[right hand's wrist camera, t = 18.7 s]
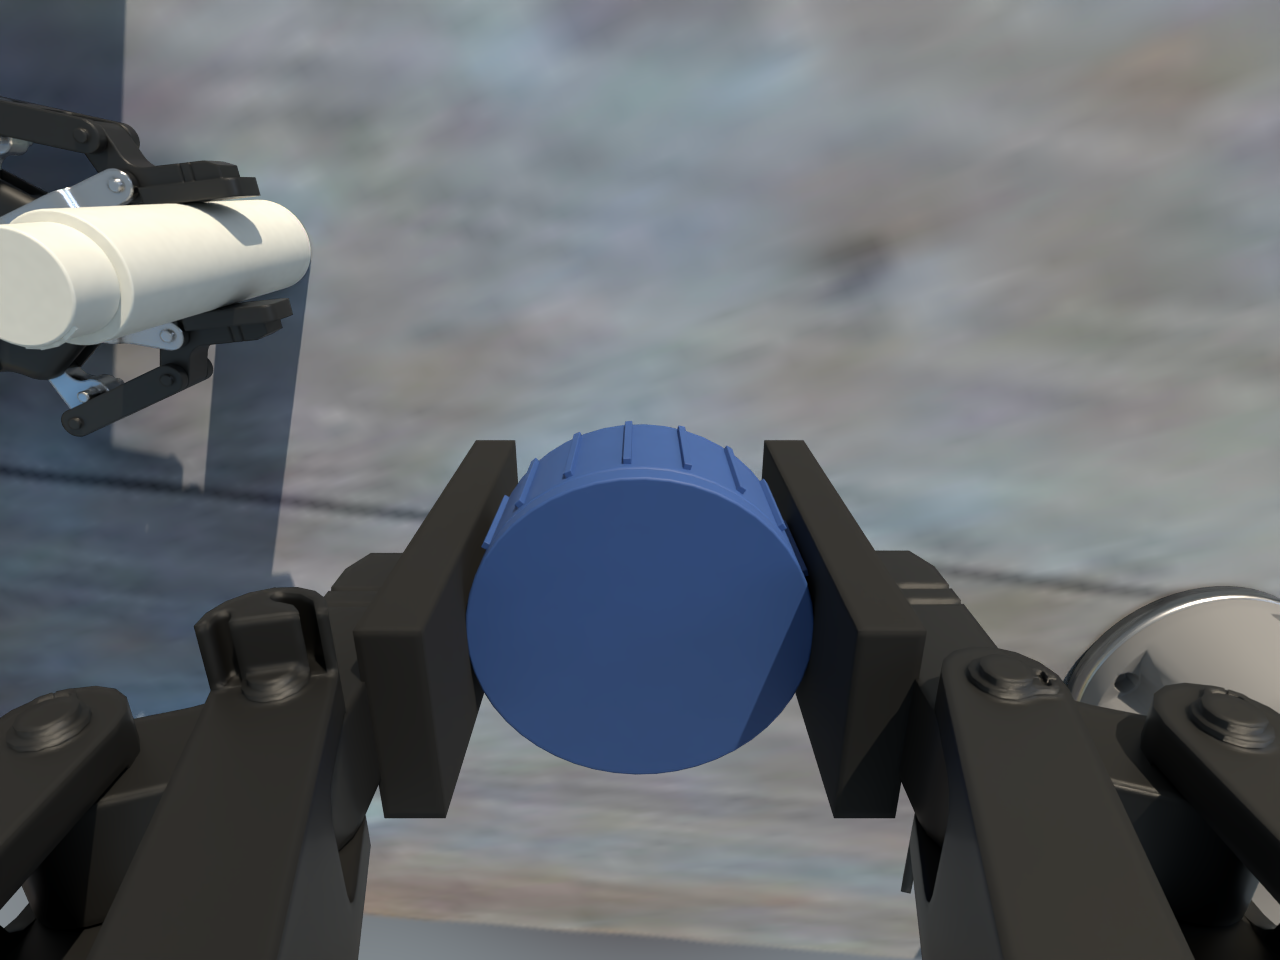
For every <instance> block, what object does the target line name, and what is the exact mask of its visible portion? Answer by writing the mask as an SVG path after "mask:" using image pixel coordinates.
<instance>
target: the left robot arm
mask: <svg viewBox="0 0 1280 960" xmlns="http://www.w3.org/2000/svg"><path fill="white" fill-rule="evenodd" d="M33 143H38V144H43V145H47V146H52V147H57V148H61V149H66V150H71V151H75V152H80V153H85V155H86V156H87V158H88V159H89V160H90V162H91V163H92V165H93V166H94V167H95V169H96V170H97V172H98V174H96V175H94V176H92V177H90V178H88V179H86V180H84V181H82V182H80V183H78V184H76V185H74V186H71V187H68V188H64V189H59V190H56V191H53V192H50V193H47V192H45V191H43V190H41V189H40V188H38V187H36V186H34V185H32V184H30V183H28V182H26V181H24V180H23V179H21V178H19V177H17V176H15V175H13V174H11V173H9V172H7V171H6V170H4V169H2V162H3V160H4V159H5V158H6V157H8V156H10V155H22V154H24V153H25V152H26V151H27V150H28V147H29V146H32V144H33ZM139 146H140V141H139V137H138V135H137V133H136V131H135V130H134V129H133V128H132V127H130V126H129V125H127V124H124V123H120V122H115V121H111V120H106V119H102V118H97V117H93V116H88V115H83V114H79V113H74V112H70V111H65V110H61V109H56V108H52V107H47V106H42V105H38V104H33V103H29V102H24V101H20V100H15V99H10V98H6V97H1V96H0V225H1V224H10V222H11V221H13V220H14V219H15V218H17V217H18V216H20V215H22V214H24V213H26V212H29V211H33V210H39V209H54V208H77V207H101V206H125V205H149V204H176V203H200V202H210V201H219V200H228V199H237V198H246V197H255V196H260V192H259V189H258V185H257V181H256V178H255V177H240V175H239V171H238V168H237V166H236V165H233V164H230V163H226V162H221V161H196V162H187V163H179V164H170V165H161V166H154V165H153V164H151V163H150V162H149V161H148V160H147V159H146V158H145V157H144V156H143V154H142V153H141V151H140V150H139ZM291 315H293V313H292V309H291V305H290V302H289V298H281V299H271V300H262V301H252V302H243V303H234V304H231V305H227V306H224V307H221V308H217V309H214V310H210V311H207V312H204V313H200V314H197V315H194V316H190V317H187V318H184V319H180V320H177V321H173V322H170V323H167V324H163V325H160V326H157V327H153V328H150V329H147V330H143V331H140V332H136V333H133V334H130V335H126V336H123V337H120V338H116V339H113V340H109V341H106V342H103V343H109V344H121V343H130V344H136V345H142V346H147V347H153V348H159V349H160V367H157V368H155V369H153V370H151V371H149V372H147V373H145V374H143V375H141V376H139V377H137V378H134V379H132V380H130V381H128V382H126V383H124V381H123V380H122V379H120V378H115V377H113V376H111V375H108V374H102V375H99V376H93V375H90V374H87V373H86V372H84V371H83V370H82V369H81V368H80V367H81V366H82V365H83V364H84V363H85V362H86V360H87V359H88V358H89V357H90V356H91V354H92V353H93V352H94V351H95V350H96V349H97V347H98V346H99V345H100V344H101V343H99V344H94V345H77V344H70V343H66V342H65V343H64V344H62V345H60V346H58V347H54V348H49V349H45V350H41V349H26V347H22V346H18V345H15V344H11V343H9V342H6V341H3V340H1V339H0V372H16V373H20V374H23V375H26V376H28V377H31V378H34V379H39V380H48V381H49V382H50V383H51V385H52V386H53V387H54V388H55V390H56V391H57V392H58V394H59V395H60V396H61V398H62V399H63V400H64V402H65V403H66V404H67V406H68V407H69V408H70V410H67V411H66V412H64V413H63V415H62V417H61V422H62V425H63V427H64V428H65V430H66V431H67V432H69V433H70V434H72V435H74V436H78V437H82V436H85V435H88V434H90V433H92V432H94V431H96V430H98V429H101V428H103V427H105V426H107V425H109V424H112V423H114V422H116V421H118V420H120V419H123V418H125V417H127V416H129V415H131V414H133V413H135V412H137V411H140V410H142V409H144V408H146V407H148V406H150V405H152V404H155V403H157V402H159V401H161V400H163V399H165V398H167V397H169V396H172V395H174V394H176V393H178V392H180V391H182V390H184V389H186V388H189V387H191V386H193V385H195V384H197V383H199V382H201V381H204V380H206V379H208V378H209V377H210V376H211V375H212V373H213V366H212V363H211V361H210V360H209V359H208V358H207V355H208V348H209V346H210V345H212V344H222V343H231V342H241V341H251V340H258V339H260V338H263V337H265V336H268V335H270V334H273V333H274V332H276V331H278V330H279V329H281V328H283V327H282V324H281V320H280V319H283V318H285V317H288V316H291Z"/></svg>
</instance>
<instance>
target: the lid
mask: <svg viewBox="0 0 1280 960" xmlns="http://www.w3.org/2000/svg"><path fill="white" fill-rule="evenodd" d="M481 547H482V548H484V549H486V551H485V553H484V556H483V558H482V560H481V563H480V565H479V567H478V570H477V572H476V574H475V577H474V580H473V583H472V586H471V589H470V592H469V596H468V602H467V609H466V631H467V641H468V650H469V657H470V660H471V663H472V667H473V670H474V673H475V675H476V677H477V679H478V681H479V684H480V686H481V688H482V690H483V691H484V693H485V695H486V696H487V698H488V699H489V701H490V702H491V704H492V705H493V707H494V708H495V709H496V710H497V711H498V712H499V714H500V715H501V716H502V717H503V718H504V719H505V721H506V722H508V723H509V724H510V725H511V726H512V727H513V728H514V729H515V730H516V731H518V732H519V733H520V734H521V735H522V736H524V737H525V738H527V739H528V740H529V741H531V742H532V743H534V744H535V745H536V746H538V747H540V748H542V749H544V750H545V751H547V752H549V753H551V754H553V755H555V756H557V757H559V758H562V759H564V760H567V761H569V762H572V763H574V764H578V765H581V766H585V767H588V768H591V769H596V770H601V771H607V772H612V773H623V774H658V773H666V772H673V771H679V770H683V769H687V768H691V767H696V766H699V765H702V764H704V763H707V762H710V761H713V760H716V759H718V758H720V757H722V756H724V755H726V754H728V753H730V752H732V751H735V750H736V749H738V748H739V747H741V746H742V745H744V744H746V743H747V742H749V741H750V740H752V739H753V738H754V737H756V736H757V735H758V734H759V733H761V732H762V731H763V730H764V729H765V728H767V727H768V726H769V725H770V724H771V723H772V722H773V721H774V720H775V718H776V717H777V716H778V715H779V714H780V713H781V712H782V711H783V709H784V708H785V707H786V705H787V704H788V703H789V701H790V700H791V699H792V697H793V695H794V694H795V692H796V690H797V688H798V686H799V684H800V683H801V681H802V678H803V676H804V673H805V670H806V668H807V665H808V662H809V659H810V653H811V645H812V635H813V625H814V615H813V604H812V600H811V596H810V592H809V588H808V584H807V581H806V579H805V577H806V576H809V574H808V570H807V568H806V566H805V563H804V561H803V559H802V557H801V554H800V552H799V550H798V548H797V545H796V543H795V541H794V538H793V536H792V534H791V532H790V529H789V527H788V525H787V523H786V520H783V519H782V516H781V514H780V512H779V509H778V507H777V505H776V502H775V500H774V498H773V495H772V493H771V491H770V489H769V486H768V484H767V482H766V481H765V480H764V479H762V480H761V481H759V480H758V478H757V477H756V476H755V475H754V474H753V472H752V471H751V470H750V469H749V468H748V467H747V466H746V465H744V464H743V463H742V462H741V461H740V460H739V459H738V458H737V457H735V456H734V453H733V450H732V449H731V448H730V447H728V446H726V447H725V448H722V447H721V446H719V445H717V444H715V443H713V442H711V441H709V440H707V439H705V438H703V437H701V436H698V435H695V434H692V433H690V432H687V431H686V430H685V427H683V426H678V429H675V428H670V427H666V426H656V425H645V424H642V425H632V421H626V422H625V425H621V426H615V427H609V428H603V429H600V430H597V431H593V432H590V433H586V434H583V435H581V433H580V432H578V433H576V434H574V436H573V439H572V440H570V441H568V442H566V443H564V444H562V445H561V446H559V447H557V448H556V449H554V450H552V451H551V452H549V453H548V454H547V455H546V456H544V457H543V458H542V459H541V460H538V459H537V458H535V459H534V460H533V461H532V462H531V464H530V466H529V469H528V471H527V473H526V474H525V475H524V476H523V477H522V479H521V480H520V481H519V483H518V484H517V486H516V487H515V489H514V490H513V491H512V493H511V495H510V497H508V496H506V495H504V497H503V499H502V501H501V503H500V506H499V508H498V510H497V513H496V515H495V517H494V519H493V522H492V524H491V526H490V528H489V531H488V533H487V535H486V537H485V540H484V542H483V544H482V546H481Z"/></svg>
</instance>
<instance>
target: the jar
mask: <svg viewBox="0 0 1280 960" xmlns="http://www.w3.org/2000/svg"><path fill="white" fill-rule="evenodd" d="M310 258H311V248H310V242H309V238H308V236H307V233H306V231H305V229H304V227H303V226H302V224H301V223H300V221H299V220H298V219H297V218H296V217H295V216H294V215H293V214H292V213H291V212H290V211H289V210H287V209H286V208H284V207H282V206H281V205H279V204H276V203H274V202H270V201H266V200H244V201H220V202H200V203H176V204H149V205H125V206H101V207H77V208H54V209H39V210H33V211H29V212H26V213H24V214H22V215H20V216H18V217H17V218H15V219H14V220H13V221H11V222H10V224H1V225H0V339H1V340H3V341H6V342H9V343H11V344H15V345H18V346H22V347H26V349H41V350H45V349H49V348H54V347H58V346H60V345H62V344H64V343H65V342H66V343H70V344H77V345H94V344H99V343H103V342H106V341H109V340H113V339H116V338H120V337H123V336H126V335H130V334H133V333H136V332H140V331H143V330H147V329H150V328H153V327H157V326H160V325H163V324H167V323H170V322H173V321H177V320H180V319H184V318H187V317H190V316H194V315H197V314H200V313H204V312H207V311H210V310H214V309H217V308H221V307H224V306H227V305H231V304H234V303H237V302H241V301H244V300H248V299H251V298H254V297H258V296H261V295H264V294H268V293H271V292H274V291H278V290H281V289H285V288H288V287H290V286H292V285H294V284H296V283H297V282H298V281H300V280H301V279H302V277H303V276H304V275H305V273H306V271H307V269H308V267H309V264H310Z"/></svg>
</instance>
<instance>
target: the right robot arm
mask: <svg viewBox="0 0 1280 960" xmlns="http://www.w3.org/2000/svg"><path fill="white" fill-rule="evenodd" d="M762 479H764V480H765V481H766V482H767V484H768V486H769V489H770V491H771V493H772V495H773V498H774V500H775V502H776V505H777V507H778V509H779V512H780V514H781V516H782V519H783V520H786V523H787V525H788V527H789V529H790V532H791V534H792V536H793V538H794V541H795V543H796V545H797V548H798V550H799V552H800V554H801V557H802V559H803V561H804V563H805V566H806V568H807V570H808V574H809V576H806V577H805V579H806V581H807V584H808V588H809V592H810V596H811V600H812V604H813V615H814V625H813V635H812V645H811V653H810V659H809V662H808V665H807V668H806V670H805V673H804V676H803V678H802V681H801V683H800V684H799V686H798V688H797V690H796V692H795V693H796V696H797V699H798V703H799V706H800V709H801V712H802V716H803V719H804V722H805V725H806V729H807V732H808V735H809V738H810V742H811V745H812V748H813V751H814V755H815V758H816V761H817V764H818V768H819V771H820V774H821V777H822V781H823V784H824V787H825V790H826V794H827V797H828V800H829V803H830V807H831V810H832V813H833V816H834V818H895V816H896V810H897V804H898V798H899V792H900V786H901V782H902V784H903V787H904V789H905V791H906V793H907V796H908V798H909V800H910V802H911V805H912V807H913V809H914V812H915V815H914V820H913V826H912V831H911V837H910V842H909V848H908V853H907V858H906V864H905V869H904V875H903V881H902V887H901V892H906V893H911V889H912V884H913V881H914V890H915V899H916V908H917V917H918V926H919V935H920V944H921V953H922V960H1280V599H1279V598H1277V597H1275V596H1273V595H1270V594H1267V593H1265V592H1262V591H1258V590H1254V589H1249V588H1243V587H1232V586H1215V587H1205V588H1198V589H1193V590H1188V591H1184V592H1180V593H1176V594H1173V595H1170V596H1167V597H1164V598H1162V599H1159V600H1157V601H1154V602H1152V603H1150V604H1148V605H1146V606H1144V607H1142V608H1140V609H1138V610H1136V611H1135V612H1133V613H1131V614H1130V615H1128V616H1126V617H1125V618H1123V619H1122V620H1121V621H1119V622H1118V623H1116V624H1115V625H1114V626H1113V627H1111V628H1110V629H1109V630H1108V631H1106V632H1105V633H1104V634H1103V635H1102V636H1101V637H1100V638H1099V639H1098V640H1097V641H1096V642H1095V643H1094V644H1093V645H1092V646H1091V647H1090V649H1089V650H1088V651H1087V652H1086V654H1085V655H1084V656H1083V658H1082V659H1081V660H1080V662H1079V663H1078V665H1077V667H1076V668H1075V670H1074V672H1073V674H1072V676H1071V678H1070V680H1069V683H1068V685H1067V686H1066V685H1065V683H1064V682H1063V681H1062V680H1061V678H1060V677H1059V676H1058V675H1057V674H1056V673H1054V672H1053V671H1051V670H1050V669H1048V668H1047V667H1045V666H1044V665H1043V664H1041V663H1040V662H1038V661H1035V660H1033V659H1031V658H1028V657H1026V656H1023V655H1021V654H1019V653H1016V652H1012V651H1008V650H1003V649H999V648H997V646H996V645H995V644H994V642H993V641H992V640H991V639H990V637H989V636H988V635H987V633H986V632H985V631H984V630H983V628H982V627H981V626H980V624H979V623H978V622H977V621H976V619H975V618H974V617H973V615H972V614H971V613H970V612H969V610H968V609H967V608H966V606H965V605H964V604H961V600H960V599H959V597H958V596H957V595H956V594H955V592H954V591H953V590H952V589H949V585H948V583H947V582H946V581H945V579H944V578H943V577H942V576H941V574H940V573H939V572H938V570H937V569H936V568H935V567H934V566H933V565H931V564H930V563H928V562H926V561H925V560H923V559H922V558H920V557H918V556H917V555H915V554H913V553H912V552H910V551H875V550H874V548H873V547H872V545H871V544H870V542H869V541H868V539H867V538H866V536H865V535H864V533H863V531H862V530H861V528H860V527H859V525H858V524H857V522H856V521H855V519H854V518H853V516H852V514H851V513H850V511H849V510H848V508H847V507H846V505H845V504H844V502H843V501H842V499H841V497H840V496H839V494H838V493H837V491H836V490H835V488H834V487H833V485H832V484H831V482H830V481H829V479H828V477H827V476H826V474H825V473H824V471H823V470H822V468H821V467H820V465H819V464H818V462H817V460H816V459H815V457H814V456H813V454H812V453H811V451H810V450H809V448H808V447H807V445H806V444H805V442H804V440H764V454H763V469H762ZM517 484H518V476H517V461H516V446H515V440H476V441H475V443H474V444H473V446H472V447H471V449H470V450H469V452H468V454H467V455H466V457H465V458H464V460H463V461H462V463H461V464H460V466H459V467H458V469H457V471H456V472H455V474H454V475H453V477H452V478H451V480H450V481H449V483H448V484H447V486H446V488H445V489H444V491H443V492H442V494H441V495H440V497H439V498H438V500H437V501H436V503H435V504H434V506H433V508H432V509H431V511H430V512H429V514H428V515H427V517H426V518H425V520H424V521H423V523H422V525H421V526H420V528H419V529H418V531H417V532H416V534H415V535H414V537H413V538H412V540H411V541H410V543H409V545H408V546H407V548H406V549H405V551H404V552H403V553H370V554H369V555H367V556H365V557H364V558H362V559H361V560H359V561H357V562H356V563H354V564H353V565H351V566H349V567H348V568H346V569H345V570H344V572H343V573H342V574H341V575H340V577H339V578H338V579H337V581H336V582H335V583H334V584H333V586H332V587H331V591H328V592H327V594H326V595H325V596H324V597H323V596H321V595H320V594H319V593H317V592H316V591H313V590H308V589H304V588H299V587H283V588H271V589H265V590H260V591H255V592H250V593H247V594H245V595H242V596H239V597H236V598H234V599H231V600H228V601H226V602H224V603H222V604H220V605H219V606H217V607H215V608H214V609H212V610H210V611H209V612H207V613H206V614H205V615H204V616H203V617H202V618H201V619H200V620H199V621H198V622H197V623H196V624H195V625H194V629H195V633H196V637H197V640H198V644H199V648H200V652H201V655H202V659H203V663H204V667H205V670H206V674H207V678H208V682H209V686H210V689H211V691H210V693H209V696H208V698H207V700H206V702H205V704H202V705H198V706H194V707H190V708H186V709H181V710H176V711H171V712H166V713H161V714H156V715H151V716H146V717H141V718H136V719H133V716H132V713H131V710H130V706H129V703H128V700H127V697H126V696H124V695H123V694H122V693H120V692H119V691H118V690H116V689H114V688H107V687H99V686H91V687H82V688H73V689H65V690H61V691H56V693H54V694H53V693H49V694H46V695H43V696H40V697H38V698H36V699H34V700H33V701H31V702H29V703H27V704H24V705H22V706H20V707H18V708H16V709H13V710H11V711H10V712H8V713H7V714H5V715H4V716H2V717H1V718H0V910H1V908H2V907H3V906H4V905H5V904H6V903H7V902H8V900H9V899H10V898H11V897H12V896H13V895H14V894H15V893H16V891H17V890H18V889H19V888H20V887H21V886H22V888H23V890H24V892H25V895H26V897H27V899H28V901H29V904H28V905H27V906H26V907H25V908H24V910H23V911H22V912H21V913H20V914H19V915H18V917H17V918H16V919H14V920H13V921H12V922H11V923H10V924H8V925H7V926H6V927H5V928H3V927H2V926H0V960H358V954H359V946H360V937H361V928H362V919H363V910H364V901H365V892H366V883H367V874H368V865H369V856H370V847H371V844H370V838H369V831H368V826H367V820H366V815H365V814H366V812H367V810H368V807H369V805H370V803H371V801H372V798H373V796H374V794H375V791H376V789H377V787H378V785H379V789H380V795H381V801H382V807H383V812H384V818H446V815H447V812H448V808H449V805H450V802H451V799H452V795H453V792H454V789H455V786H456V782H457V779H458V776H459V773H460V769H461V766H462V763H463V760H464V756H465V753H466V750H467V747H468V743H469V740H470V737H471V734H472V730H473V727H474V724H475V721H476V717H477V714H478V711H479V708H480V704H481V701H482V698H483V695H484V691H483V690H482V688H481V686H480V684H479V681H478V679H477V677H476V675H475V673H474V670H473V667H472V663H471V660H470V657H469V650H468V641H467V631H466V609H467V602H468V596H469V592H470V589H471V586H472V583H473V580H474V577H475V574H476V572H477V570H478V567H479V565H480V563H481V560H482V558H483V556H484V553H485V551H486V549H484V548H482V547H481V546H482V544H483V542H484V540H485V537H486V535H487V533H488V531H489V528H490V526H491V524H492V522H493V519H494V517H495V515H496V513H497V510H498V508H499V506H500V503H501V501H502V499H503V497H504V495H506V496H508V497H510V495H511V493H512V491H513V490H514V489H515V487H516V486H517Z"/></svg>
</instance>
